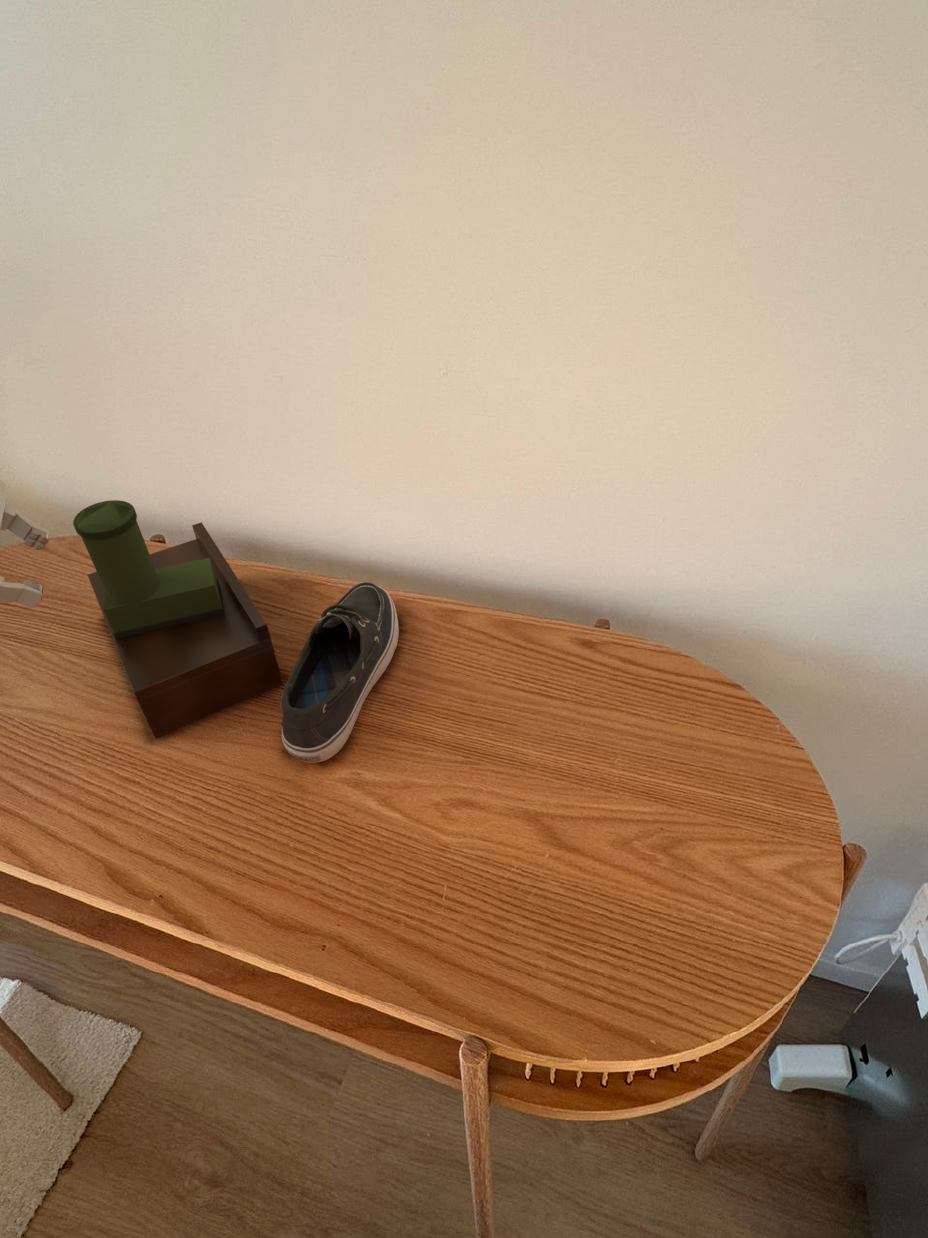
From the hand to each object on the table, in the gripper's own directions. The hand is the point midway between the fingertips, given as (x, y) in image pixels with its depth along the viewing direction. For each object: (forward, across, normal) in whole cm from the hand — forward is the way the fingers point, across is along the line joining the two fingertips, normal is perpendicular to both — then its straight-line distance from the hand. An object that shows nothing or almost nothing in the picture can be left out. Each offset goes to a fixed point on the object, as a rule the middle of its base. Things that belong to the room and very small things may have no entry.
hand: (43, 568), depth 71 cm
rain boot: (+13, 0, -1) cm, 13 cm away
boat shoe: (+29, -10, -8) cm, 32 cm away
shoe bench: (+18, +1, +4) cm, 19 cm away
